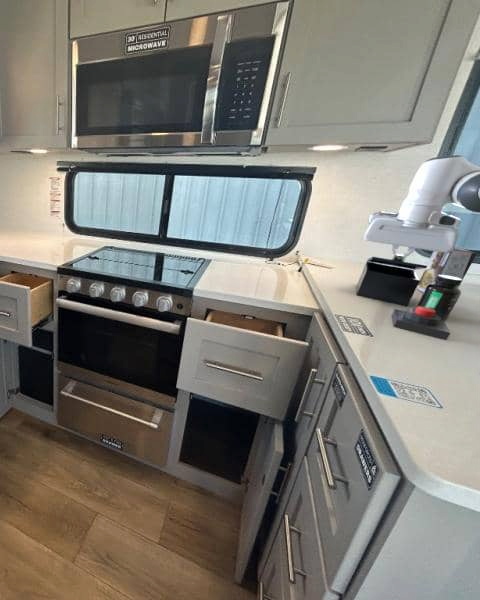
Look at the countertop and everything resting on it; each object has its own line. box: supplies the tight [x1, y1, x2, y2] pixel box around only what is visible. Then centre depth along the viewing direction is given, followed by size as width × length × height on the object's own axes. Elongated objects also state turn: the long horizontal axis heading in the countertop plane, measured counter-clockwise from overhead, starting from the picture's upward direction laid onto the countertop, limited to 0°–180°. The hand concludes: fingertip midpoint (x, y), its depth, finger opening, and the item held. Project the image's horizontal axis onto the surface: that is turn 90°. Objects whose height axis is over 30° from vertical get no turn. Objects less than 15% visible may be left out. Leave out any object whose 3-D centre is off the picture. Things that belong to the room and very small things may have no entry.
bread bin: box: [355, 261, 420, 308], centre depth 109 cm, size 16×13×9 cm
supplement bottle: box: [415, 275, 463, 321], centre depth 94 cm, size 7×7×12 cm
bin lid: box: [366, 256, 427, 271], centre depth 106 cm, size 16×13×1 cm
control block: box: [391, 308, 451, 341], centre depth 87 cm, size 10×10×4 cm
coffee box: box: [416, 246, 478, 293], centre depth 112 cm, size 9×6×16 cm
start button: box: [414, 305, 436, 317], centre depth 86 cm, size 4×4×2 cm
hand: (397, 260), depth 102 cm, fingers closed
